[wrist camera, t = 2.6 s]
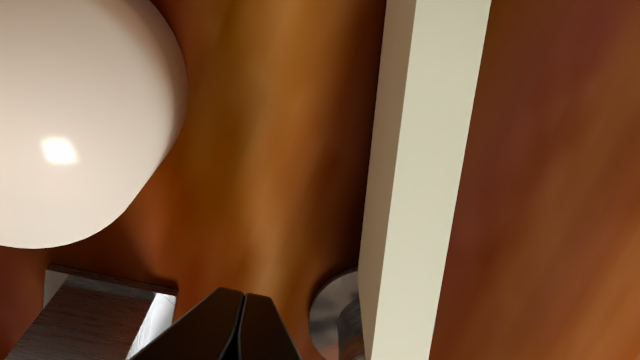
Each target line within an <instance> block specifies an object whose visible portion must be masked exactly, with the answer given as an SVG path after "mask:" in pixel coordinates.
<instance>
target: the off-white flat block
mask: <svg viewBox="0 0 640 360" xmlns="http://www.w3.org/2000/svg"><path fill="white" fill-rule="evenodd" d="M490 4H491V0H387V4H386V13H385V22H384V31H383V41H382V50H381V59H380V69H379V78H378V87H377V97H376V106H375V115H374V125H373V134H372V143H371V153H370V162H369V171H368V181H367V190H366V199H365V208H364V218H363V227H362V236H361V246H360V255H359V264H358V274H357V279H358V289H359V299H360V309H361V319H362V329H363V339H364V349H365V359H366V360H428V358H429V352H430V346H431V341H432V335H433V329H434V324H435V318H436V312H437V307H438V301H439V295H440V289H441V284H442V278H443V272H444V267H445V261H446V255H447V249H448V244H449V238H450V232H451V227H452V221H453V215H454V210H455V204H456V198H457V192H458V187H459V181H460V175H461V170H462V164H463V158H464V153H465V147H466V141H467V135H468V130H469V124H470V118H471V113H472V107H473V101H474V96H475V90H476V84H477V78H478V73H479V67H480V61H481V56H482V50H483V44H484V39H485V33H486V27H487V21H488V16H489V10H490Z"/></svg>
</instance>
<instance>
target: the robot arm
mask: <svg viewBox="0 0 640 360" xmlns="http://www.w3.org/2000/svg"><path fill="white" fill-rule="evenodd" d="M243 299H244V300H243ZM242 304H243V305H242ZM241 308H242V309H241ZM239 317H240V318H239ZM128 360H302V358H301V356H300V354H299V352H298V350H297V348H296V346H295V344H294V342H293V340H292V338H291V336H290V334H289V332H288V330H287V328H286V326H285V324H284V322H283V320H282V318H281V317H280V315H279V313H278V311H277V309H276V307H275V305H274V303H273V301H272V299H271V298H270V297H267V296H262V295H257V294H252V293H247V294H246V295H245V296H244V294H243V292H241V291H238V290H233V289H229V288H224V287H219V288H217V289H216V290H215V291H213V292H212V293H211V294H210V295H208V296H207V297H206V298H205V299H203V300H202V301H201V302H200V303H198V304H197V305H196V306H195V307H193V308H192V309H191V310H190V311H188V312H187V313H186V314H185V315H183V316H182V317H181V318H180V319H178V320H177V321H176V322H175V323H173V324H172V325H171V326H170V327H168V328H167V329H166V330H165V331H163V332H162V333H161V334H160V335H158V336H157V337H156V338H155V339H153V340H152V341H151V342H150V343H148V344H147V345H146V346H145V347H143V348H142V349H141V350H140V351H138V352H137V353H136V354H134V355H133V356H132V357H131V358H129V359H128Z"/></svg>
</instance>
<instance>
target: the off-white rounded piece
mask: <svg viewBox="0 0 640 360" xmlns="http://www.w3.org/2000/svg"><path fill="white" fill-rule="evenodd" d="M188 97H189V89H188V76H187V71H186V65H185V61H184V58H183V55H182V52H181V49H180V46H179V44H178V42H177V40H176V38H175V35H174V33H173V32H172V30H171V28H170V27H169V25H168V23H167V22H166V20H165V19H164V17H163V16H162V15H161V13H160V12H159V11H158V10H157V8H156V7H155V6H154V5H153V4H152V3H151V2H150V1H149V0H0V245H2V246H9V247H15V248H33V249H37V248H50V247H57V246H62V245H67V244H71V243H74V242H77V241H80V240H83V239H85V238H87V237H89V236H91V235H93V234H95V233H97V232H99V231H101V230H102V229H104V228H105V227H107V226H108V225H109V224H111V223H112V222H113V221H114V220H116V219H117V218H118V217H119V216H120V215H121V214H122V213H123V212H124V211H125V210H126V208H127V207H128V206H129V205H130V203H131V202H132V201H133V199H134V198H135V197H136V195H137V194H138V193H139V191H140V190H141V189H142V187H143V186H144V185H145V183H146V182H147V181H148V179H149V178H150V177H151V175H152V174H153V173H154V171H155V170H156V169H157V167H158V166H159V165H160V163H161V162H162V161H163V159H164V158H165V157H166V155H167V154H168V153H169V151H170V150H171V149H172V147H173V146H174V144H175V142H176V140H177V139H178V137H179V135H180V132H181V130H182V127H183V125H184V122H185V117H186V113H187V108H188Z"/></svg>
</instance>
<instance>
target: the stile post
mask: <svg viewBox="0 0 640 360" xmlns="http://www.w3.org/2000/svg"><path fill="white" fill-rule="evenodd" d="M178 292H179V290H176V289H171V288H167V287H162V286H157V285H152V284H147V283H143V282H138V281H133V280H128V279H123V278H118V277H114V276H109V275H104V274H99V273H94V272H90V271H85V270H80V269H75V268H70V267H65V266H61V265H56V264H50V265H49V266H48V268H47V269H46V273H45V287H44V302H43V310H42V311H41V313H40V314H39V315H38V316H37V318H36V319H35V320H34V322H33V323H32V324H31V326H30V327H29V328H28V329H27V331H26V332H25V333H24V335H23V336H22V337H21V339H20V340H19V341H18V342H17V344H16V345H15V346H14V348H13V349H12V350H11V351H10V353H9V354H8V355H7V357H6V358H5V359H4V360H128V359H129V358H131V357H132V356H133V355H134V354H136V353H137V352H138V351H140V350H141V349H142V348H143V347H145V346H146V345H147V344H148V343H150V342H151V341H152V340H153V339H155V338H156V337H157V336H158V335H160V334H161V333H162V332H163V331H165V330H166V329H167V328H168V327H170V326H171V325H172V324H173V321H174V315H175V309H176V304H177V298H178Z"/></svg>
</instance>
